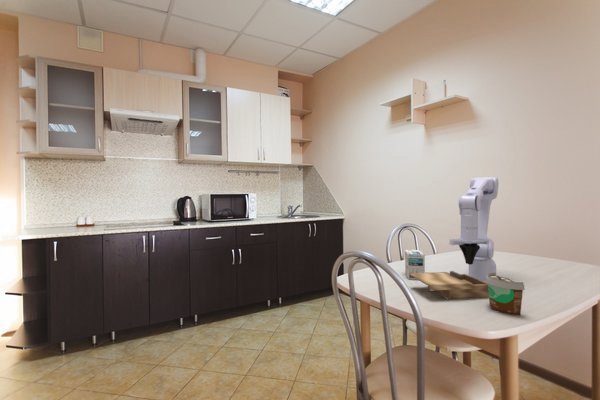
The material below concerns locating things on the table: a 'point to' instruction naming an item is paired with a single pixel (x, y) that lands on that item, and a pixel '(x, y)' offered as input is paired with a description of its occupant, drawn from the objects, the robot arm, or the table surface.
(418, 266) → the light bulb box
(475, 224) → the robot arm
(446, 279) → the mailer lid
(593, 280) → the table surface
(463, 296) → the mailer box
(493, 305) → the food container
